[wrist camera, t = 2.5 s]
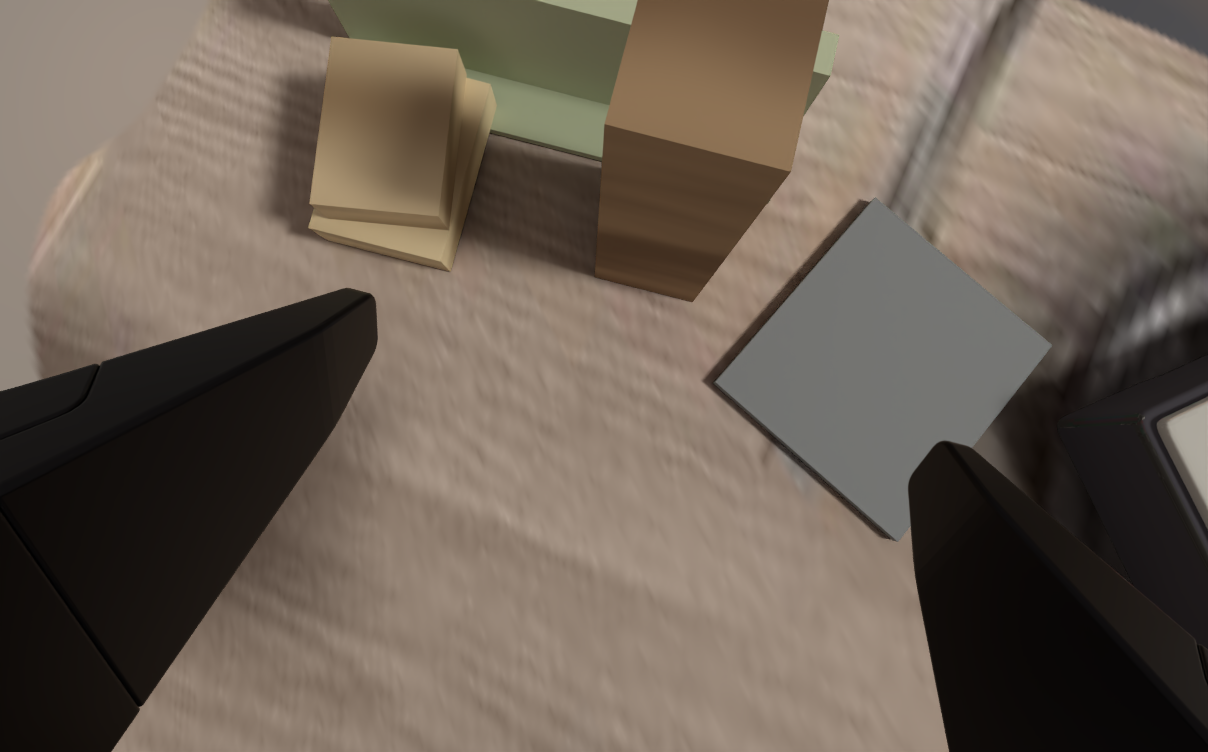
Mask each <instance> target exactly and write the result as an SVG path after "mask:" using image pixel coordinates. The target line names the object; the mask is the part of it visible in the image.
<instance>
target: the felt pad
mask: <svg viewBox="0 0 1208 752" xmlns="http://www.w3.org/2000/svg"><path fill="white" fill-rule="evenodd" d="M1051 346H1052V345H1051V344H1050V343H1049V342H1048V341H1047V340H1045V339H1044V338H1043V337H1042V336H1041V335H1039V334H1038V333H1037V332H1036V331H1035V330H1033V329H1032V328H1031V327H1030V326H1029V325H1027V324H1026V323H1025V322H1024V321H1023V320H1021V319H1020V318H1019V317H1018V316H1017V315H1015V314H1014V313H1013V312H1012V311H1011V310H1009V309H1008V308H1007V307H1006V306H1005V305H1003V304H1002V303H1001V302H1000V301H999V300H997V299H996V298H995V297H994V296H993V295H992V294H990V293H989V292H988V291H987V290H986V289H984V288H983V287H982V286H981V285H980V284H978V283H977V282H976V281H975V280H974V279H972V278H971V277H970V276H969V275H968V274H966V273H965V272H964V271H963V270H962V269H960V268H959V267H958V266H957V265H956V264H954V263H953V262H952V261H951V260H950V259H948V258H947V257H946V256H945V255H944V254H942V253H941V252H940V251H939V250H938V249H936V248H935V247H934V246H933V245H932V244H930V243H929V242H928V241H927V240H926V239H924V238H923V237H922V236H921V235H920V234H918V233H917V232H916V231H915V230H914V229H912V228H911V227H910V226H909V225H908V224H907V223H905V222H904V221H903V220H902V219H901V218H899V217H898V216H897V215H896V214H895V213H893V212H892V211H891V210H890V209H889V208H887V207H886V206H885V205H884V204H883V203H881V202H880V201H879V200H878V199H877V198H874V199H873V200H872V201H871V202H870V203H869V204H868V205H867V206H866V207H865V208H864V210H863V211H862V212H861V213H860V214H859V215H858V217H857V218H856V219H855V220H854V221H853V222H852V223H851V225H850V226H849V227H848V228H847V229H846V230H845V231H844V233H843V234H842V235H841V236H840V237H839V238H838V240H837V241H836V242H835V243H834V244H833V245H832V246H831V248H830V249H829V250H828V251H827V252H826V253H825V255H824V256H823V257H822V258H821V259H820V260H819V261H818V263H817V264H816V265H815V266H814V267H813V268H812V270H811V271H810V272H809V273H808V274H807V275H806V276H805V278H804V279H803V280H802V281H801V282H800V283H799V285H798V286H797V287H796V288H795V289H794V290H793V291H792V293H791V294H790V295H789V296H788V297H787V298H786V300H785V301H784V302H783V303H782V304H781V305H780V306H779V308H778V309H777V310H776V311H775V312H774V313H773V315H772V316H771V317H770V318H769V319H768V320H767V321H766V323H765V324H764V325H763V326H762V327H761V328H760V330H759V331H758V332H757V333H756V334H755V335H754V336H753V338H752V339H751V340H750V341H749V342H748V343H747V345H746V346H745V347H744V348H743V349H742V350H741V351H740V353H739V354H738V355H737V356H736V357H735V358H734V360H733V361H732V362H731V363H730V364H729V365H728V366H727V368H726V369H725V370H724V371H723V372H722V373H721V375H720V376H719V377H718V378H717V379H716V380H715V381H714V383H713V384H715V385H716V386H717V387H718V388H719V389H720V390H721V391H723V392H724V393H725V394H726V395H727V396H728V397H729V398H731V399H732V400H733V401H734V402H735V403H736V404H737V405H739V406H740V407H741V408H742V409H743V410H744V411H745V412H747V413H748V414H749V415H750V416H751V417H752V418H753V419H755V420H756V421H757V422H758V423H759V424H760V425H761V426H763V427H764V428H765V429H766V430H767V431H768V432H769V433H771V434H772V435H773V436H774V437H775V438H776V439H777V440H779V441H780V442H781V443H782V444H783V445H784V446H785V447H787V448H788V449H789V450H790V451H791V452H792V453H793V454H795V455H796V456H797V457H798V458H799V459H800V460H801V461H803V462H804V463H805V464H806V465H807V466H808V467H809V468H810V469H812V470H813V471H814V472H815V473H816V474H817V475H818V476H820V477H821V478H822V479H823V480H824V481H825V482H826V483H828V484H829V485H830V486H831V487H832V488H833V489H834V490H836V491H837V492H838V493H839V494H840V495H841V496H842V497H844V498H845V499H846V500H847V501H848V502H849V503H850V504H852V505H853V506H854V507H855V508H856V509H857V510H858V511H860V512H861V513H862V514H863V515H864V516H865V517H866V518H868V519H869V520H870V521H871V522H872V523H873V524H874V525H876V526H877V527H878V528H879V529H880V530H881V531H882V532H884V533H885V534H886V535H887V536H888V537H889V538H890V539H892V540H894V541H897V542H898V541H899V540H900V539H901V537H902V536H903V535H904V533H905V532H906V531H907V530H908V528H909V527H910V526H911V524H910V511H909V498H908V482H909V479H910V477H911V475H912V473H913V472H914V470H915V469H916V468H917V466H918V465H919V464H920V463H921V461H922V460H923V459H924V458H925V456H926V455H927V454H928V453H929V451H930V450H931V449H932V447H933V446H934V445H935V444H936V443H938V442H940V441H944V440H947V441H951V442H955V443H959V444H963V445H967V446H969V447H971V448H972V447H973V446H974V444H975V443H976V442H977V441H978V439H979V438H980V437H981V435H982V434H983V433H984V432H985V430H986V429H987V428H988V427H989V425H990V424H991V423H992V422H993V420H994V419H995V418H996V416H997V415H998V414H999V413H1000V411H1001V410H1002V409H1003V408H1004V406H1005V405H1006V404H1007V402H1008V401H1009V400H1010V399H1011V397H1012V396H1013V395H1014V394H1015V392H1016V391H1017V390H1018V388H1019V387H1020V386H1021V385H1022V383H1023V382H1024V381H1025V380H1026V378H1027V377H1028V376H1029V374H1030V373H1031V372H1032V371H1033V369H1034V368H1035V367H1036V366H1037V364H1038V363H1039V362H1040V360H1041V359H1042V358H1043V357H1044V355H1045V354H1046V353H1047V352H1048V350H1049V349H1050V348H1051Z"/></svg>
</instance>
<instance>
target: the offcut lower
mask: <svg viewBox="0 0 1208 752" xmlns="http://www.w3.org/2000/svg"><path fill="white" fill-rule="evenodd" d="M496 107H497V104H496V100H495V97H494V94H493V90H492V87H491V84H489V83H485V82H481V81H477V80H474V79H470V78H466V86H465V95H464V104H463V113H462V121H461V130H460V139H459V148H458V157H457V165H456V174H455V183H454V192H453V201H452V210H451V218H450V227H449V230H440V229H429V228H419V227H409V226H398V225H388V224H378V223H367V222H357V221H346V220H336V219H329V218H327V217H326V216H325V215H323V214H322V213H321V212H319V211H318V210H317V209H315V208H314V210H313V213H312V216H311V220H310V223H309V226H308V228H309V229H311V230H312V231H314V232H315V233H317V234H318V235H320V236H321V237H323V238H324V239H326V240H328V241H332V242H336V243H340V244H344V245H348V246H352V247H356V248H360V249H363V250H367V251H371V252H375V253H379V254H383V255H387V256H391V257H395V258H399V259H403V260H407V261H410V262H414V263H418V264H422V265H426V266H430V267H434V268H438V269H442V270H446V271H450V272H451V269H452V265H453V261H454V258H455V254H456V251H457V247H458V243H459V240H460V236H461V233H462V229H463V225H464V222H465V218H466V215H467V211H468V208H469V204H470V200H471V197H472V193H473V190H474V186H475V182H476V179H477V175H478V172H479V168H480V165H481V161H482V157H483V154H484V150H485V147H486V143H487V139H488V136H489V132H490V129H491V125H492V121H493V118H494V114H495V111H496Z"/></svg>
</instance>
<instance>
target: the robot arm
mask: <svg viewBox="0 0 1208 752" xmlns="http://www.w3.org/2000/svg"><path fill="white" fill-rule="evenodd" d="M377 340H378V333H377V313H376V301H375V298H374V297H373V296H372V295H371V294H370V293H366V292H363V291H359V290H355V289H351V288H344V289H340V290H337V291H334V292H331V293H327V294H324V295H321V296H317V297H314V298H311V299H307V300H304V301H301V302H298V303H294V304H291V305H288V306H284V307H281V308H278V309H274V310H271V311H268V312H265V313H261V314H258V315H255V316H251V317H248V318H245V319H241V320H238V321H235V322H232V323H228V324H225V325H222V326H218V327H215V328H212V329H208V330H205V331H202V332H199V333H195V334H192V335H189V336H185V337H182V338H179V339H175V340H172V341H169V342H166V343H162V344H159V345H156V346H152V347H149V348H146V349H142V350H139V351H136V352H133V353H129V354H126V355H123V356H119V357H116V358H113V359H109V360H106V361H103V362H102V363H101V365H100V366H99V365H98V364H92V365H89V366H86V367H83V368H79V369H76V370H73V371H70V372H67V373H63V374H60V375H56V376H53V377H49V378H46V379H42V380H39V381H35V382H32V383H29V384H25V385H22V386H19V387H15V388H11V389H7V390H4V391H0V752H111V751H112V750H113V749H114V747H115V746H116V744H117V743H118V741H119V740H120V738H121V737H122V736H123V734H124V733H125V731H126V730H127V728H128V727H129V725H130V724H131V723H132V721H133V720H134V718H135V717H136V715H137V714H138V712H139V711H140V708H139V707H140V706H142V705H143V704H144V703H145V702H146V700H147V699H148V697H149V696H150V694H151V693H152V691H153V690H154V689H155V687H156V686H157V684H158V683H159V681H160V680H161V678H162V677H163V676H164V674H165V673H166V671H167V670H168V668H169V667H170V665H171V664H172V663H173V661H174V660H175V658H176V657H177V655H178V654H179V652H180V651H181V650H182V648H183V647H184V645H185V644H186V642H187V641H188V639H189V638H190V637H191V635H192V634H193V632H194V631H195V629H196V628H197V626H198V625H199V624H200V622H201V621H202V619H203V618H204V616H205V615H206V613H207V612H208V611H209V609H210V608H211V606H212V605H213V603H214V602H215V600H216V599H217V597H218V596H219V595H220V593H221V592H222V590H223V589H224V587H225V586H226V584H227V583H228V582H229V580H230V579H231V577H232V576H233V574H234V573H235V571H236V570H237V569H238V567H239V566H240V564H241V563H242V561H243V560H244V558H245V557H246V556H247V554H248V553H249V551H250V550H251V548H252V547H253V545H254V544H255V543H256V541H257V540H258V538H259V537H260V535H261V534H262V532H263V531H264V530H265V528H266V527H267V525H268V524H269V522H270V521H271V519H272V518H273V517H274V515H275V514H276V512H277V511H278V509H279V508H280V506H281V505H282V504H283V502H284V501H285V499H286V498H287V496H288V495H289V493H290V492H291V491H292V489H293V488H294V486H295V485H296V483H297V482H298V480H299V479H300V478H301V476H302V475H303V473H304V472H305V470H306V469H307V467H308V466H309V465H310V463H311V462H312V460H313V459H314V457H315V456H316V454H317V453H318V451H319V450H320V449H321V447H322V446H323V444H324V443H325V441H326V440H327V438H328V437H329V435H330V434H331V432H332V431H333V429H334V428H335V426H336V424H337V422H338V421H339V419H340V417H341V415H342V413H343V411H344V409H345V408H346V406H347V404H348V402H349V400H350V398H351V396H352V394H353V392H354V390H355V388H356V387H357V385H358V383H359V381H360V379H361V377H362V375H363V373H364V371H365V369H366V367H367V365H368V364H369V362H370V360H371V358H372V356H373V354H374V352H375V349H376V346H377ZM908 498H909V511H910V524H911V537H912V550H913V562H914V571H915V578H916V584H917V590H918V595H919V600H920V606H921V611H922V616H923V621H924V626H925V631H926V636H927V641H928V646H929V652H930V657H931V662H932V667H933V672H934V677H935V682H936V687H937V692H938V698H939V703H940V708H941V713H942V718H943V723H944V728H945V733H946V738H947V743H948V749H949V752H1208V649H1206V648H1205V647H1204V646H1203V645H1201V644H1197V643H1196V640H1195V639H1194V638H1193V637H1192V636H1191V635H1190V634H1189V633H1188V632H1186V631H1185V630H1184V629H1183V628H1182V627H1181V626H1179V625H1178V624H1177V623H1176V622H1175V621H1173V620H1172V619H1171V618H1170V617H1169V616H1168V615H1166V614H1165V613H1164V612H1163V611H1162V610H1161V609H1159V608H1158V607H1157V606H1156V605H1155V604H1154V603H1152V602H1151V601H1150V600H1149V599H1148V598H1147V597H1145V596H1144V595H1143V594H1142V593H1141V592H1140V591H1138V590H1137V589H1136V588H1135V587H1134V586H1133V585H1131V584H1130V583H1129V582H1128V581H1127V580H1126V579H1124V578H1123V577H1122V576H1121V575H1120V574H1119V573H1117V572H1116V571H1115V570H1114V569H1113V568H1112V567H1110V566H1109V565H1108V564H1107V563H1106V562H1104V561H1103V560H1102V559H1101V558H1100V557H1099V556H1097V555H1096V554H1095V553H1094V552H1093V551H1092V550H1090V549H1089V548H1088V547H1087V546H1086V545H1085V544H1083V543H1082V542H1081V541H1080V540H1079V539H1078V538H1076V537H1075V536H1074V535H1073V534H1072V533H1071V532H1069V531H1068V530H1067V529H1066V528H1065V527H1064V526H1062V525H1061V524H1060V523H1059V522H1058V521H1057V520H1055V519H1054V518H1053V517H1052V516H1051V515H1050V514H1048V513H1047V512H1046V511H1045V510H1044V509H1043V508H1041V507H1040V506H1039V505H1038V504H1037V503H1035V502H1034V501H1033V500H1032V499H1031V498H1030V497H1028V496H1027V495H1026V494H1025V493H1024V492H1023V491H1021V490H1020V489H1019V488H1018V487H1017V486H1016V485H1014V484H1013V483H1012V482H1011V481H1010V480H1009V479H1007V478H1006V477H1005V476H1004V475H1003V474H1002V473H1000V472H999V471H998V470H997V469H996V468H995V467H993V466H992V465H991V464H990V463H989V462H988V461H986V460H985V459H984V458H983V457H982V456H981V455H979V454H978V453H977V452H976V451H975V450H973V449H972V448H971V447H969V446H967V445H963V444H959V443H955V442H951V441H947V440H944V441H940V442H938V443H936V444H935V445H934V446H933V447H932V449H931V450H930V451H929V453H928V454H927V455H926V456H925V458H924V459H923V460H922V461H921V463H920V464H919V465H918V466H917V468H916V469H915V470H914V472H913V473H912V475H911V477H910V479H909V482H908Z"/></svg>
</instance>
